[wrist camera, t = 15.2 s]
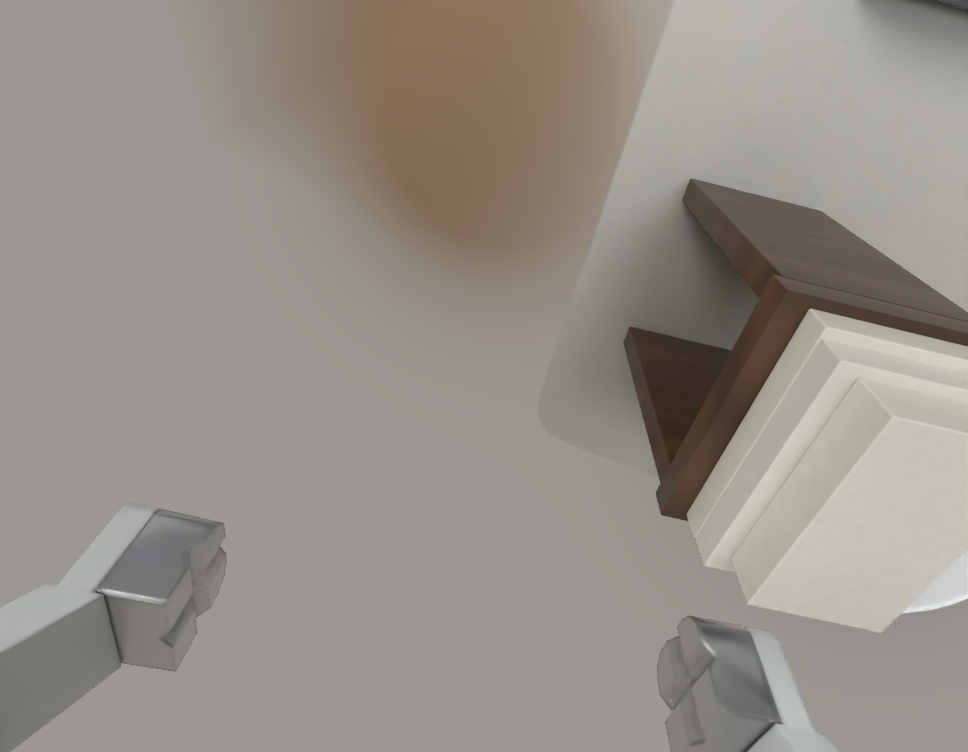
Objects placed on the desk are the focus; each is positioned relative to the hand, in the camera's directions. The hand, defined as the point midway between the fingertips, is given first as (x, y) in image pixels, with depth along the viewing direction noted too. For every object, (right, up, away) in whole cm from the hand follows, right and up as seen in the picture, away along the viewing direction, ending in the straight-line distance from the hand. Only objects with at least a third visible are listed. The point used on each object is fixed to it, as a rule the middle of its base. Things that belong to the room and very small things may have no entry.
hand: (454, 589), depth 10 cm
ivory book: (+17, -1, +15) cm, 23 cm away
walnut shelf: (+19, +11, +35) cm, 41 cm away
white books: (+17, 0, +18) cm, 25 cm away
